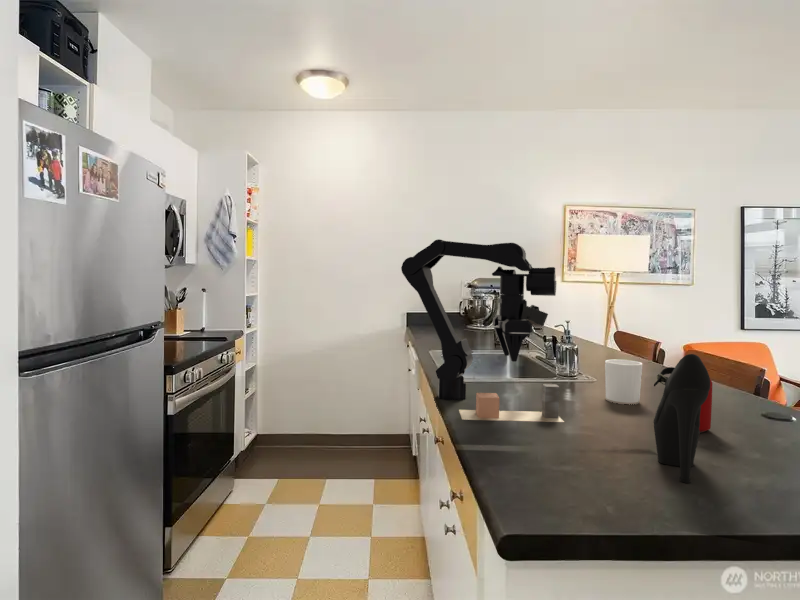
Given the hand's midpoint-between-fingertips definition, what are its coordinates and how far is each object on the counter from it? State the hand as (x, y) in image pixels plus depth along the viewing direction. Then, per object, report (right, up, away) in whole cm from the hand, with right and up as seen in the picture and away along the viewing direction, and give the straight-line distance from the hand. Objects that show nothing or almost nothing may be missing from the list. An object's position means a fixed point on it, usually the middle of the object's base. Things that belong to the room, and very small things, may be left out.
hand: (510, 358), depth 120 cm
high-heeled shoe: (+20, -14, -37) cm, 44 cm away
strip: (-2, -12, -10) cm, 16 cm away
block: (-7, -12, -10) cm, 17 cm away
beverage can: (+35, -13, -16) cm, 41 cm away
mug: (+31, -12, +10) cm, 35 cm away
